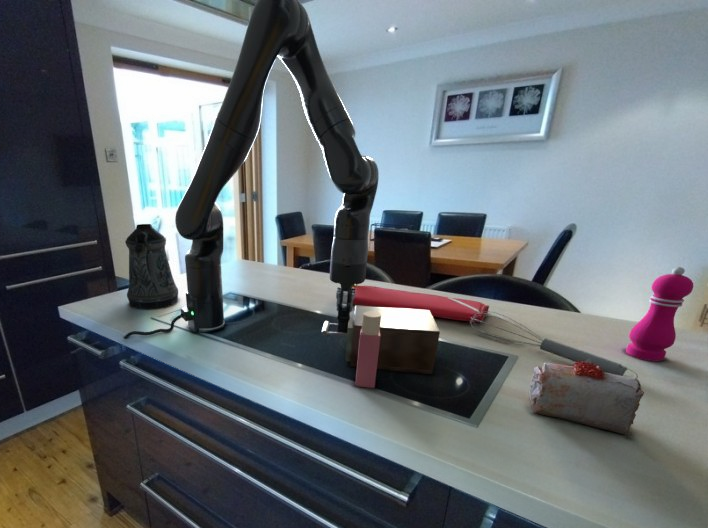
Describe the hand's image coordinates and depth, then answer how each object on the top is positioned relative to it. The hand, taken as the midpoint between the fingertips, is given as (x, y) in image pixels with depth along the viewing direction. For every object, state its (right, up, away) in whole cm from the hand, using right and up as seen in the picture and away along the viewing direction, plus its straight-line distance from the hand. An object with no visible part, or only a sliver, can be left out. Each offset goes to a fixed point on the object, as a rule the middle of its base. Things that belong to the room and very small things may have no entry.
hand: (342, 334), depth 89 cm
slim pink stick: (+2, -10, -12) cm, 15 cm away
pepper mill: (+68, -5, -2) cm, 68 cm away
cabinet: (+10, -5, -1) cm, 12 cm away
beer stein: (-53, +11, +40) cm, 67 cm away
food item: (+34, -14, -23) cm, 44 cm away
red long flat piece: (+28, +8, +32) cm, 43 cm away
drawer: (+6, -4, 0) cm, 7 cm away
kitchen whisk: (+46, -4, +1) cm, 46 cm away
